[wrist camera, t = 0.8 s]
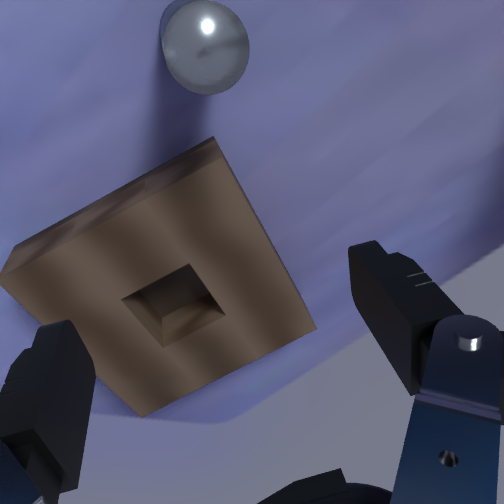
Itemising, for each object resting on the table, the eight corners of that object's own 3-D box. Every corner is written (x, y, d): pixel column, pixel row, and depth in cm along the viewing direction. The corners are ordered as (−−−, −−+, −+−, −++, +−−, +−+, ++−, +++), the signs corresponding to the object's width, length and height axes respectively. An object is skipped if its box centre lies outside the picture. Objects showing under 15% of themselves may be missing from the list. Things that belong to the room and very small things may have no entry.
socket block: (213, 136, 34) (222, 156, 29) (300, 295, 43) (317, 328, 39) (14, 246, 35) (-5, 281, 31) (142, 377, 45) (141, 417, 40)
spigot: (201, -15, 29) (225, -18, 19) (229, 45, 31) (263, 69, 21) (147, 16, 29) (145, 28, 20) (179, 74, 31) (191, 109, 22)
